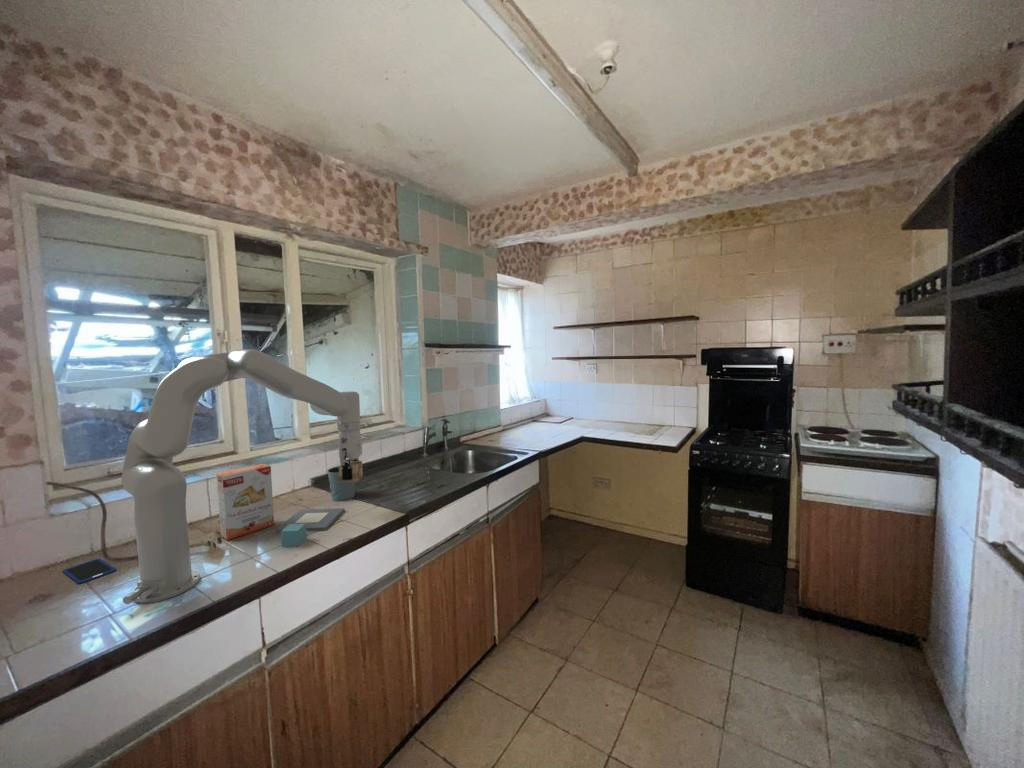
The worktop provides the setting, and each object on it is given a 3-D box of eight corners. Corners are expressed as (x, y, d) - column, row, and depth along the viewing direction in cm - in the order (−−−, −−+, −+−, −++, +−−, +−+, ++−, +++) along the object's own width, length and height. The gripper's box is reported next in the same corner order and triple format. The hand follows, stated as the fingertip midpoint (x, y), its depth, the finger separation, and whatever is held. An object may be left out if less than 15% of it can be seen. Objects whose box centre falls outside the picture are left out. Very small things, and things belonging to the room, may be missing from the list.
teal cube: (298, 546, 119) (297, 530, 118) (281, 547, 118) (280, 531, 118) (306, 538, 124) (305, 523, 123) (290, 539, 123) (289, 524, 123)
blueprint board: (325, 530, 129) (325, 526, 129) (276, 532, 129) (275, 528, 128) (344, 510, 145) (344, 507, 145) (300, 512, 144) (300, 509, 144)
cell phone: (79, 586, 101) (78, 583, 101) (61, 572, 108) (61, 570, 107) (117, 572, 107) (117, 569, 107) (99, 560, 114) (99, 557, 114)
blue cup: (361, 493, 163) (359, 465, 162) (348, 502, 153) (346, 472, 152) (337, 493, 164) (336, 465, 163) (324, 502, 154) (322, 472, 153)
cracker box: (227, 541, 123) (222, 476, 121) (220, 536, 126) (215, 473, 125) (275, 525, 134) (271, 465, 132) (267, 521, 138) (263, 462, 136)
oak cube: (356, 482, 137) (356, 465, 137) (339, 482, 137) (338, 465, 136) (362, 477, 143) (362, 460, 143) (345, 477, 143) (345, 461, 142)
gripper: (350, 430, 130) (352, 484, 131) (367, 422, 147) (369, 469, 149) (327, 431, 130) (330, 484, 131) (347, 422, 147) (349, 470, 148)
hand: (351, 476), depth 140 cm, fingers closed on oak cube, 6 cm apart
